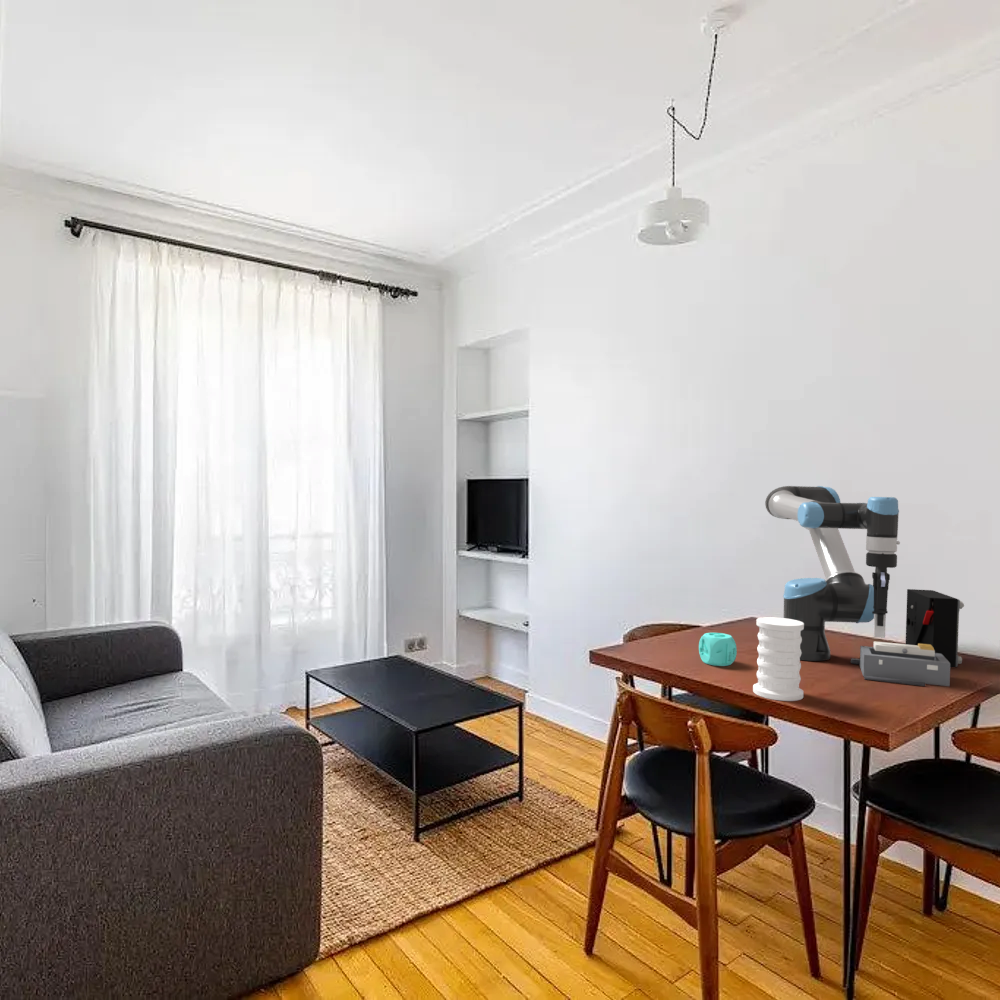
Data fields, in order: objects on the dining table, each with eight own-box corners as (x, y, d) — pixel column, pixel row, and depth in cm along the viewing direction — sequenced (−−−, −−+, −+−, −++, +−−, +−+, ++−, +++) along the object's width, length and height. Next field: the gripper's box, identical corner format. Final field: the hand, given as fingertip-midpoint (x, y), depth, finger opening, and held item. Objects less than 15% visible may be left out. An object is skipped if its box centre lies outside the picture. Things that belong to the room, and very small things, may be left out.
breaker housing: (863, 676, 188) (864, 654, 188) (859, 666, 199) (860, 645, 199) (949, 686, 180) (950, 663, 180) (940, 675, 191) (941, 653, 191)
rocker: (875, 651, 190) (875, 643, 190) (873, 646, 195) (873, 638, 195) (935, 657, 184) (935, 648, 184) (930, 652, 190) (931, 644, 190)
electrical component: (964, 668, 200) (966, 599, 199) (925, 665, 202) (927, 597, 201) (938, 654, 217) (940, 590, 217) (902, 651, 219) (904, 589, 219)
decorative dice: (710, 666, 196) (711, 638, 196) (698, 659, 204) (698, 632, 204) (736, 666, 197) (737, 638, 197) (723, 659, 205) (724, 632, 205)
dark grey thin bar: (864, 679, 185) (864, 676, 185) (864, 678, 186) (864, 675, 186) (925, 686, 180) (925, 683, 180) (924, 685, 180) (924, 682, 180)
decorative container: (767, 684, 179) (769, 615, 179) (811, 695, 170) (814, 622, 170) (744, 692, 171) (746, 620, 171) (789, 704, 163) (791, 628, 162)
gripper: (900, 555, 184) (897, 643, 184) (894, 551, 196) (891, 634, 196) (868, 553, 187) (866, 640, 187) (864, 550, 199) (861, 631, 199)
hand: (879, 637), depth 192 cm, fingers closed
